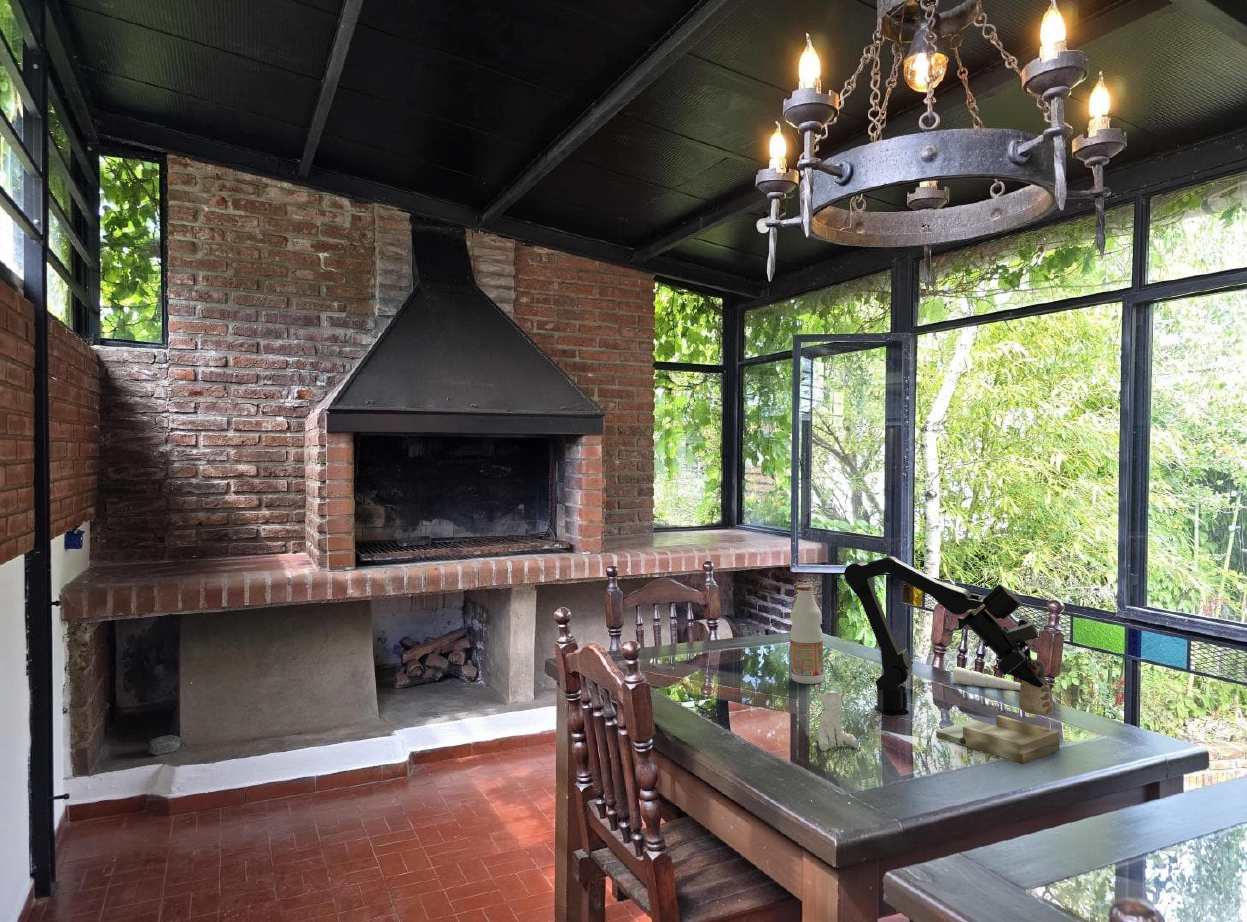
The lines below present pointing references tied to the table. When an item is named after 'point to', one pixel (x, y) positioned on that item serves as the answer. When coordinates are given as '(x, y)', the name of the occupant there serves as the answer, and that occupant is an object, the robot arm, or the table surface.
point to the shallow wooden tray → (1004, 738)
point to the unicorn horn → (982, 679)
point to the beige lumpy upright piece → (833, 724)
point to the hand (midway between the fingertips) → (1042, 683)
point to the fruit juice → (806, 638)
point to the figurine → (1036, 693)
